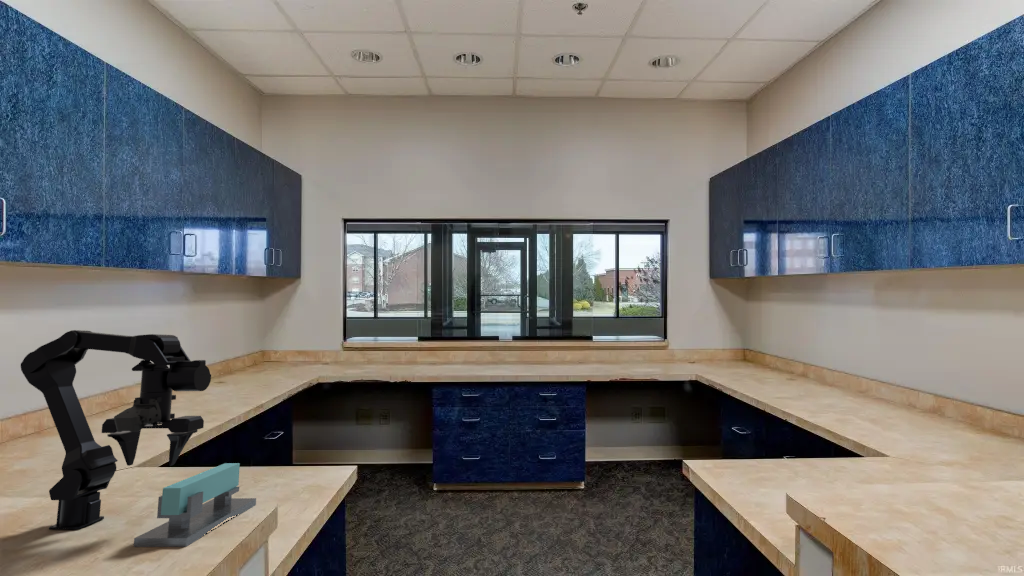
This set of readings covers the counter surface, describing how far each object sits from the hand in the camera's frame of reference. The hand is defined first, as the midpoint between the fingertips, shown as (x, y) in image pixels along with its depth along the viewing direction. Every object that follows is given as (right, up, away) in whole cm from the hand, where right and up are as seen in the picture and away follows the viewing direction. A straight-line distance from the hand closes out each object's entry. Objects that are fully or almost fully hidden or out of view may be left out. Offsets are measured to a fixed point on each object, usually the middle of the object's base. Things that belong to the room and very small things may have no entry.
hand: (150, 465), depth 104 cm
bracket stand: (+12, -12, -2) cm, 17 cm away
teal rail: (+12, -7, -1) cm, 14 cm away
